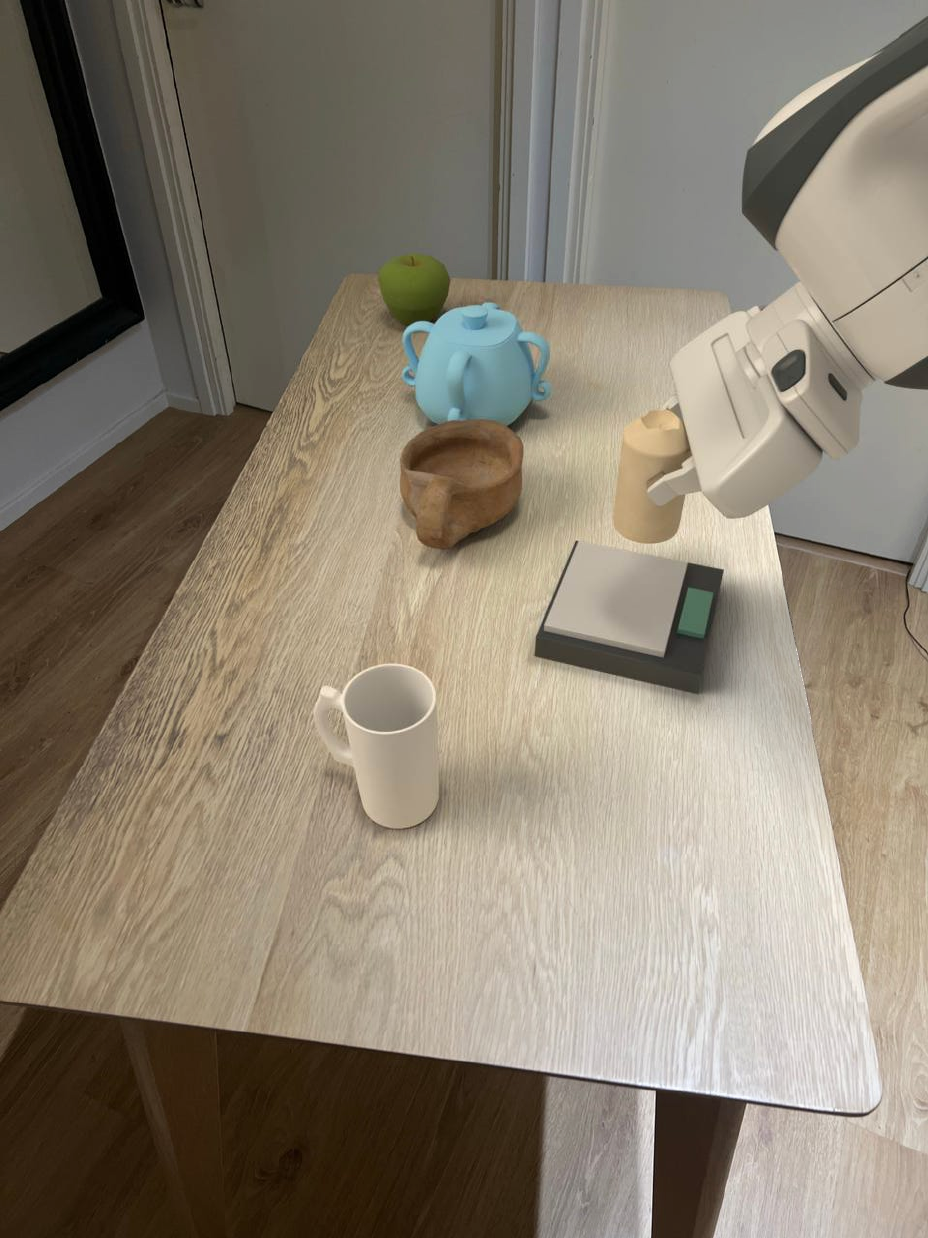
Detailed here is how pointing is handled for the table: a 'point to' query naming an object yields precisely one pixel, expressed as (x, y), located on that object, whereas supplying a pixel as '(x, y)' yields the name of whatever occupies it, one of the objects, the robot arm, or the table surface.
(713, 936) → the table surface
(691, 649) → the scale
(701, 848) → the table surface
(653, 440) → the candle
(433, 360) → the decorative pot
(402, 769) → the mug
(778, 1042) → the table surface
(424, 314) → the apple
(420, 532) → the bowl
